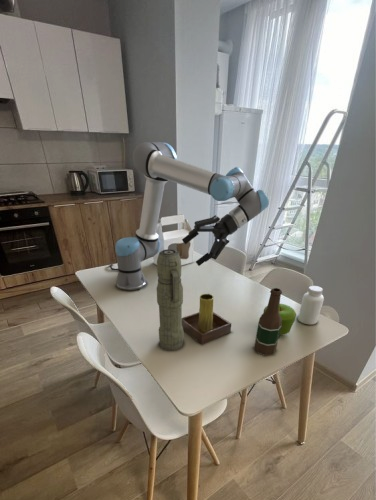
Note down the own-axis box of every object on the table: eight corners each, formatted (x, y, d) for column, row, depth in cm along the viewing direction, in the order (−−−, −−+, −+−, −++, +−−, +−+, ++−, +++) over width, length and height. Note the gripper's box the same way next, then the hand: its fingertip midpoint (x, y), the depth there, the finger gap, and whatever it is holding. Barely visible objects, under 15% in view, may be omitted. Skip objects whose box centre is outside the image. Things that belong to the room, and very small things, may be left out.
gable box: (181, 256, 191) (181, 211, 175) (193, 262, 182) (194, 215, 166) (152, 263, 180) (150, 216, 164) (164, 269, 171) (162, 220, 155)
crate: (180, 327, 118) (180, 318, 115) (207, 317, 125) (208, 308, 123) (201, 344, 108) (202, 335, 106) (230, 332, 115) (231, 323, 113)
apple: (279, 343, 109) (285, 318, 103) (253, 330, 116) (257, 305, 110) (297, 332, 116) (304, 307, 109) (272, 320, 123) (276, 296, 117)
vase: (195, 326, 117) (196, 294, 109) (208, 323, 119) (210, 292, 111) (201, 334, 113) (203, 301, 105) (215, 330, 115) (217, 298, 107)
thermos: (168, 355, 102) (165, 259, 83) (153, 339, 110) (147, 249, 91) (189, 348, 106) (191, 254, 87) (173, 333, 114) (171, 244, 95)
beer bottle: (276, 357, 102) (290, 296, 89) (254, 354, 103) (264, 293, 90) (275, 344, 108) (288, 285, 95) (254, 342, 110) (264, 283, 96)
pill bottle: (294, 320, 123) (302, 288, 115) (302, 313, 128) (310, 282, 120) (312, 327, 119) (322, 294, 110) (320, 320, 124) (329, 288, 115)
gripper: (228, 199, 103) (181, 236, 106) (245, 247, 123) (205, 276, 125) (218, 191, 108) (173, 226, 110) (236, 238, 128) (198, 267, 130)
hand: (190, 253), depth 118 cm, fingers open, 13 cm apart
